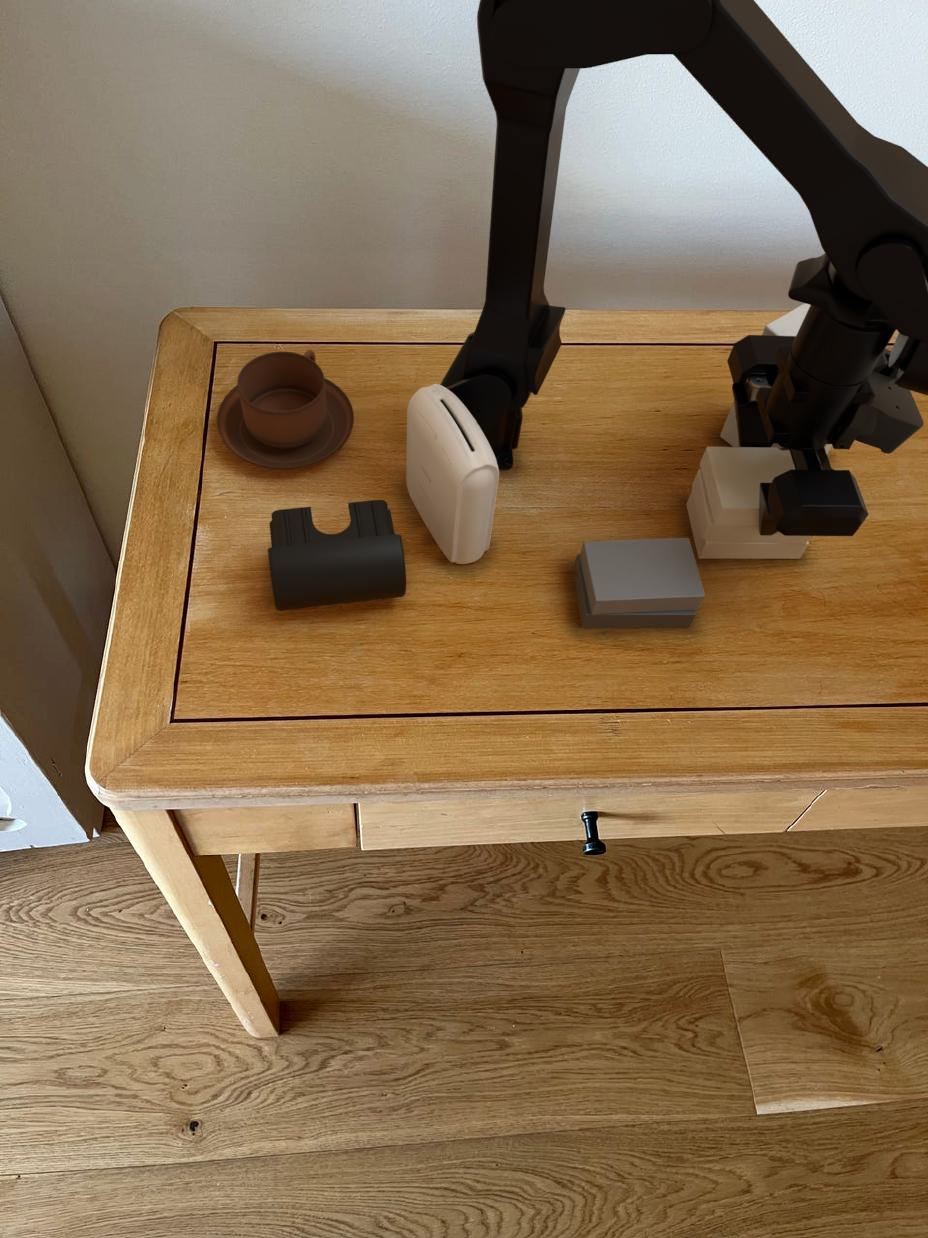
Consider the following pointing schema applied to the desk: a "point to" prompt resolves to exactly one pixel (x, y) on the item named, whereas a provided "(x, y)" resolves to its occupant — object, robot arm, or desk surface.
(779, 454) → the white book
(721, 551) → the white books
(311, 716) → the desk surface
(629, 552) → the grey books
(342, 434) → the cup and saucer
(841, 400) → the robot arm
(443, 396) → the photo printer
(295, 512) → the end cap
